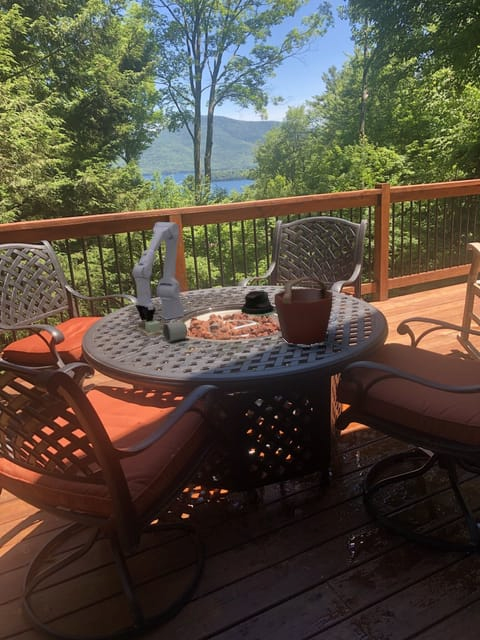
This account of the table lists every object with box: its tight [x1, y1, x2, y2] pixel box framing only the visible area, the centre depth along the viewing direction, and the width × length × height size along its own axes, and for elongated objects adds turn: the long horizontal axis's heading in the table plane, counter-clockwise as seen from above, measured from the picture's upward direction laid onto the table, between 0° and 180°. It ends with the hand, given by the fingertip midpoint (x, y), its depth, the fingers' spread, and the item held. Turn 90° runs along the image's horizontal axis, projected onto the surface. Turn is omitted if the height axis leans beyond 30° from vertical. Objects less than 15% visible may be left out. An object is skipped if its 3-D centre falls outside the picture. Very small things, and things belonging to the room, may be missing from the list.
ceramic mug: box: [162, 321, 188, 343], centre depth 198 cm, size 11×8×8 cm
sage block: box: [144, 319, 162, 333], centre depth 209 cm, size 5×5×4 cm
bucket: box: [274, 276, 333, 345], centre depth 188 cm, size 24×22×25 cm
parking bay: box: [137, 323, 163, 338], centre depth 209 cm, size 10×12×1 cm
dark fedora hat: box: [241, 290, 277, 317], centre depth 234 cm, size 20×20×9 cm
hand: (146, 322), depth 215 cm, fingers open, 7 cm apart
